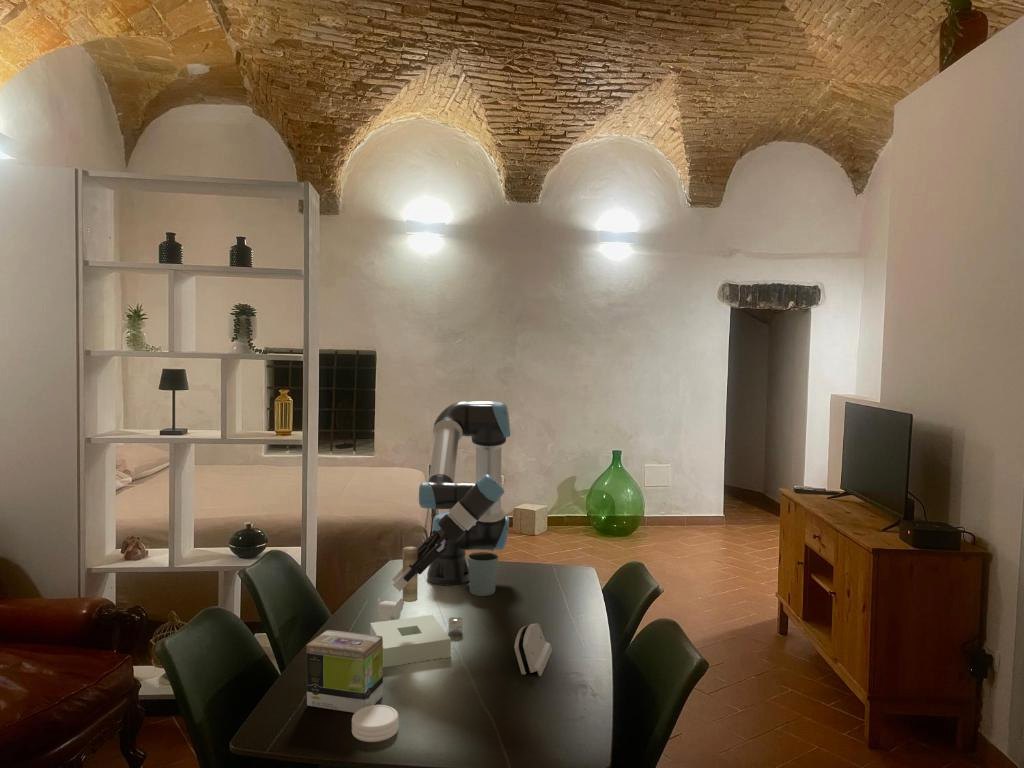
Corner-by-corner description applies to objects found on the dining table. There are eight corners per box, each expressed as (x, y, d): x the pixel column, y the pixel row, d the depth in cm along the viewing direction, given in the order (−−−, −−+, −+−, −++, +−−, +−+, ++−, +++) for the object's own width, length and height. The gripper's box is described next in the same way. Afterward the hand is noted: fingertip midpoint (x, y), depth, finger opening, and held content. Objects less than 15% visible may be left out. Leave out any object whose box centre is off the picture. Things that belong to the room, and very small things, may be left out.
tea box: (384, 695, 175) (384, 635, 174) (364, 716, 166) (364, 652, 165) (327, 686, 179) (327, 627, 178) (305, 706, 170) (304, 644, 169)
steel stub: (446, 631, 214) (446, 617, 214) (460, 629, 215) (460, 616, 215) (450, 636, 210) (450, 622, 210) (464, 634, 212) (464, 621, 211)
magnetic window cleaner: (540, 676, 186) (528, 638, 186) (523, 680, 187) (510, 643, 187) (552, 649, 202) (541, 614, 202) (536, 653, 203) (525, 618, 204)
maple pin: (401, 597, 202) (401, 547, 201) (415, 596, 203) (415, 546, 202) (404, 602, 198) (404, 551, 197) (419, 601, 200) (419, 550, 199)
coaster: (401, 718, 165) (401, 703, 165) (395, 743, 155) (395, 727, 155) (356, 719, 165) (356, 703, 165) (347, 743, 155) (347, 727, 155)
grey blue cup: (463, 594, 244) (463, 558, 243) (473, 584, 254) (474, 550, 253) (492, 598, 241) (492, 562, 240) (501, 588, 251) (502, 553, 250)
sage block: (370, 640, 207) (370, 622, 206) (432, 631, 213) (432, 614, 213) (383, 667, 190) (383, 648, 190) (450, 657, 197) (450, 638, 196)
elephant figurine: (370, 626, 217) (370, 602, 216) (383, 614, 226) (383, 591, 226) (394, 628, 215) (394, 604, 215) (407, 616, 224) (407, 593, 224)
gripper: (471, 539, 194) (407, 605, 192) (462, 523, 211) (403, 583, 209) (451, 520, 193) (387, 586, 191) (443, 506, 210) (384, 566, 207)
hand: (395, 584), depth 200 cm, fingers closed on maple pin, 4 cm apart
